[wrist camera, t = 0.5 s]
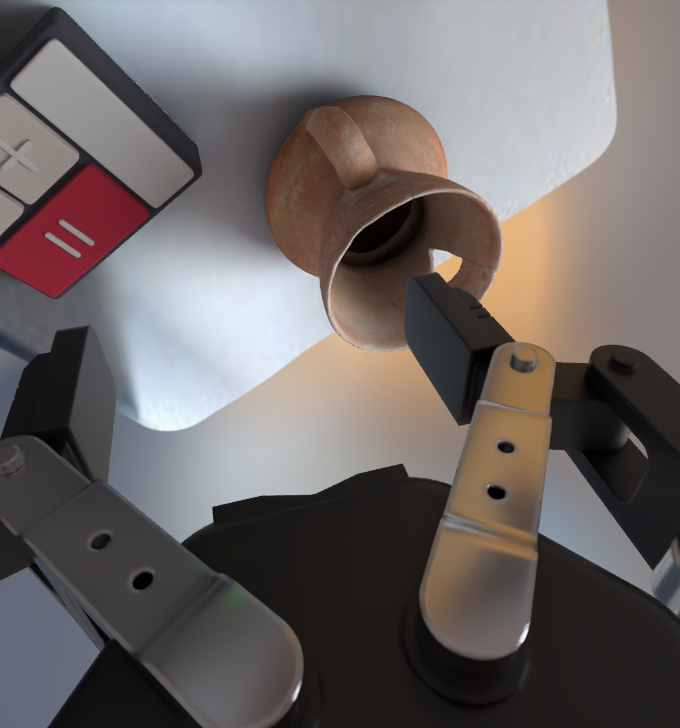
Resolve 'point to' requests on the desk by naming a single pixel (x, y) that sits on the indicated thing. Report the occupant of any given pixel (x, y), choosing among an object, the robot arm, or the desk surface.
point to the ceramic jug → (375, 214)
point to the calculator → (78, 157)
